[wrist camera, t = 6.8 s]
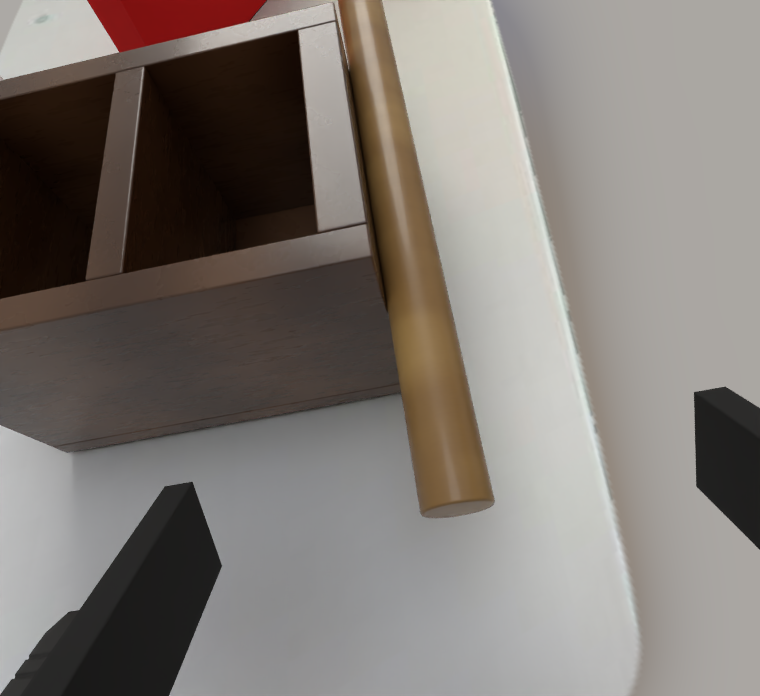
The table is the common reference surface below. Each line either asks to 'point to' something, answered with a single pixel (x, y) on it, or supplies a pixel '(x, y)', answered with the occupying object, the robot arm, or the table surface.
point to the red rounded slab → (168, 18)
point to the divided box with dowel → (228, 245)
